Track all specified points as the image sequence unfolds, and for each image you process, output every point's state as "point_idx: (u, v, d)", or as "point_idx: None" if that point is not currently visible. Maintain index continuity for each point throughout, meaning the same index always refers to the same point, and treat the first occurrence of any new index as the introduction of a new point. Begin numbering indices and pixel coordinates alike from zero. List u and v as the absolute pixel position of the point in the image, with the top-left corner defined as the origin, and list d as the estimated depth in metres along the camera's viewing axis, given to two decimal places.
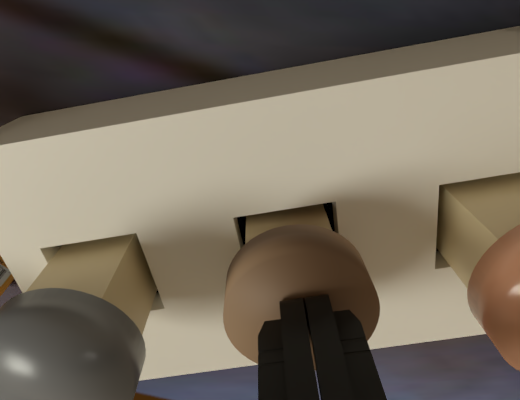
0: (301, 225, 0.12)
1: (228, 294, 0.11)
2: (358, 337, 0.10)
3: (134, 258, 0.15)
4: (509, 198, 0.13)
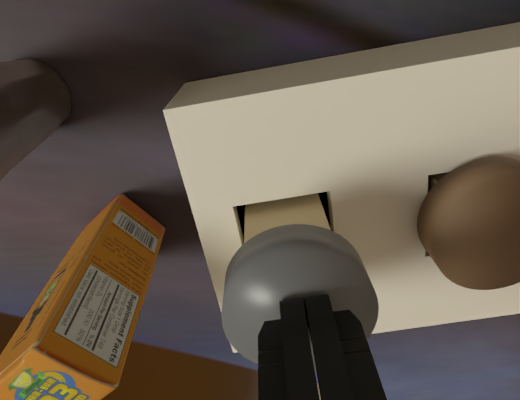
0: (499, 157, 0.14)
1: (446, 213, 0.13)
2: (358, 337, 0.10)
3: None
4: None
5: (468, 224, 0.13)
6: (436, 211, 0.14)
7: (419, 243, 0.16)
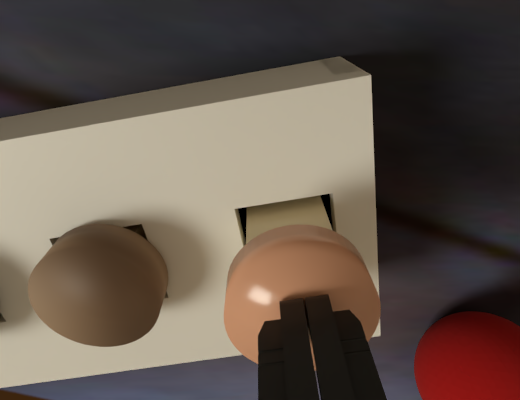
0: (99, 224, 0.14)
1: (29, 281, 0.14)
2: (358, 337, 0.10)
3: None
4: (286, 213, 0.14)
5: (53, 290, 0.14)
6: None
7: None
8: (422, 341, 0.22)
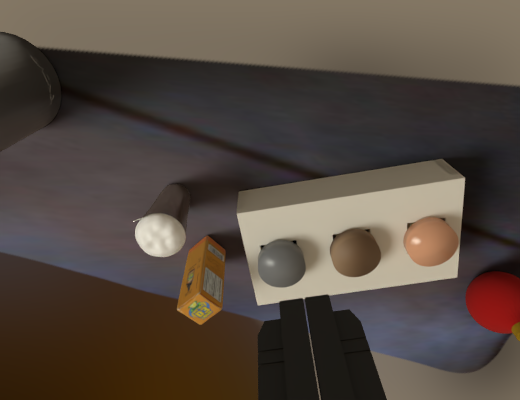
0: (356, 229, 0.38)
1: (335, 250, 0.37)
2: (358, 337, 0.10)
3: None
4: None
5: (343, 253, 0.37)
6: (333, 248, 0.38)
7: None
8: (470, 286, 0.46)
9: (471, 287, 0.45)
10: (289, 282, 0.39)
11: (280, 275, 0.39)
